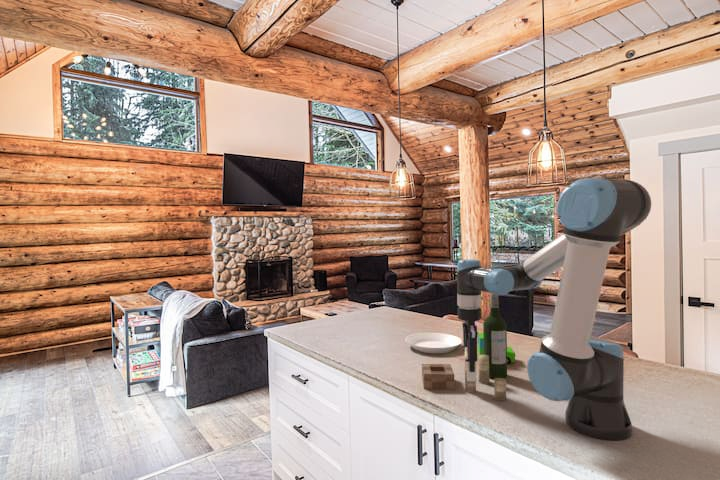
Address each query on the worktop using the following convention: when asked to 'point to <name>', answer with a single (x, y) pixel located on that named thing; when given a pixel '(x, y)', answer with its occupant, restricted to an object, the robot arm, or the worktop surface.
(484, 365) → the medium dowel
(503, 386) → the short dowel
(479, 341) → the toy car
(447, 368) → the hole block
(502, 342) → the wine bottle
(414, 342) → the white plate
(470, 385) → the long dowel
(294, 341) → the worktop surface
